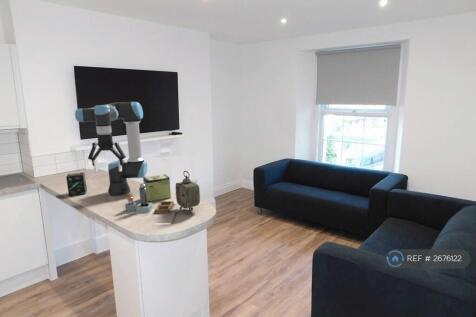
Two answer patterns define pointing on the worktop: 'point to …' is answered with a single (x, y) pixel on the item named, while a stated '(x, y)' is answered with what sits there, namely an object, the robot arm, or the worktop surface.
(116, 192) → the robot arm
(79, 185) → the tampon box
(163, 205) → the tray
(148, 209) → the socket block
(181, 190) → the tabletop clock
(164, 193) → the protein box
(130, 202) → the release plunger
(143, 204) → the dark grey cylinder
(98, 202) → the worktop surface
